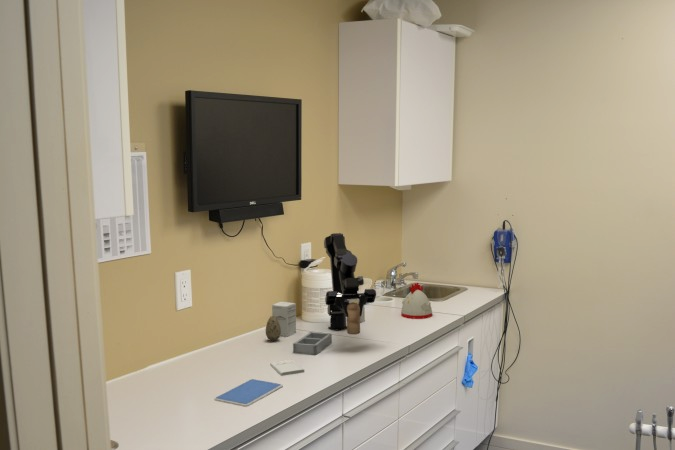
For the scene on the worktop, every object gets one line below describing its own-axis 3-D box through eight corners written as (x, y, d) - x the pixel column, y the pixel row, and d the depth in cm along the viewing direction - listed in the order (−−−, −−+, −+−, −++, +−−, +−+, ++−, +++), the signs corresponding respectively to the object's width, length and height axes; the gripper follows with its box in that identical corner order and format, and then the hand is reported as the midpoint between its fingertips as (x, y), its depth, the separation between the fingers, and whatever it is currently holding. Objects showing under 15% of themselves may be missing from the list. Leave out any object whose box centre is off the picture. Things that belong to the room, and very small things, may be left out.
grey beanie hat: (394, 315, 298) (394, 283, 296) (415, 310, 307) (414, 279, 305) (418, 320, 287) (418, 287, 286) (438, 315, 297) (438, 282, 295)
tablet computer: (246, 409, 190) (246, 404, 190) (212, 401, 196) (212, 397, 196) (283, 388, 207) (283, 384, 207) (251, 382, 213) (251, 378, 213)
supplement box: (272, 335, 268) (271, 304, 267) (281, 330, 274) (281, 301, 273) (287, 337, 265) (286, 306, 263) (296, 332, 271) (296, 302, 270)
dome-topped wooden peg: (353, 330, 246) (352, 300, 245) (362, 332, 243) (362, 302, 242) (344, 332, 243) (344, 302, 242) (354, 335, 240) (353, 304, 238)
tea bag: (350, 319, 291) (350, 297, 290) (364, 321, 289) (364, 298, 288) (347, 321, 288) (346, 299, 287) (361, 323, 285) (360, 300, 284)
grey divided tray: (310, 340, 258) (310, 332, 258) (331, 342, 255) (331, 333, 255) (293, 352, 242) (293, 343, 242) (316, 354, 239) (315, 345, 239)
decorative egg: (272, 337, 264) (272, 313, 263) (284, 340, 260) (283, 315, 259) (262, 341, 259) (262, 316, 258) (274, 343, 255) (273, 318, 254)
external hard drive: (281, 377, 217) (270, 366, 229) (304, 373, 220) (292, 363, 232) (281, 372, 217) (270, 362, 228) (304, 369, 220) (292, 359, 232)
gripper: (325, 270, 243) (331, 305, 233) (374, 267, 246) (382, 302, 236) (322, 286, 251) (328, 322, 242) (370, 284, 255) (377, 319, 245)
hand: (354, 316), depth 241 cm, fingers closed on dome-topped wooden peg, 5 cm apart
